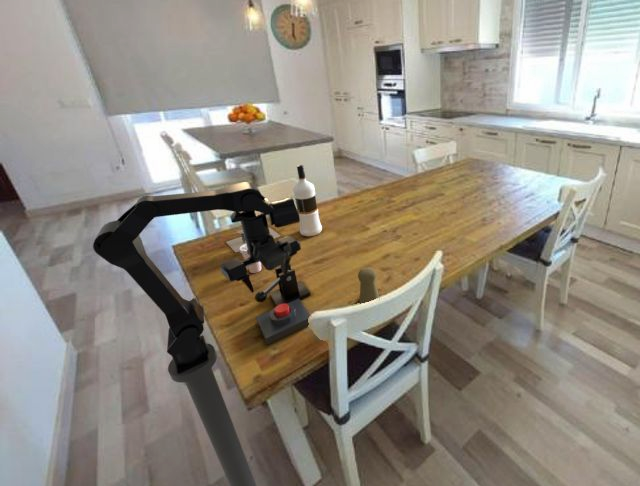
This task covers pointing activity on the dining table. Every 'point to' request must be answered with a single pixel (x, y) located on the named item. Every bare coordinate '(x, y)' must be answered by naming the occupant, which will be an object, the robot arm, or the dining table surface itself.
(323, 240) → the dining table surface
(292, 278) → the switch bracket
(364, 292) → the grey brown pawn
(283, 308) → the switch button
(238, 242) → the platform
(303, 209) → the vodka
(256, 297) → the switch lever
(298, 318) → the switch block
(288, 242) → the robot arm
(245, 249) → the smoothie
